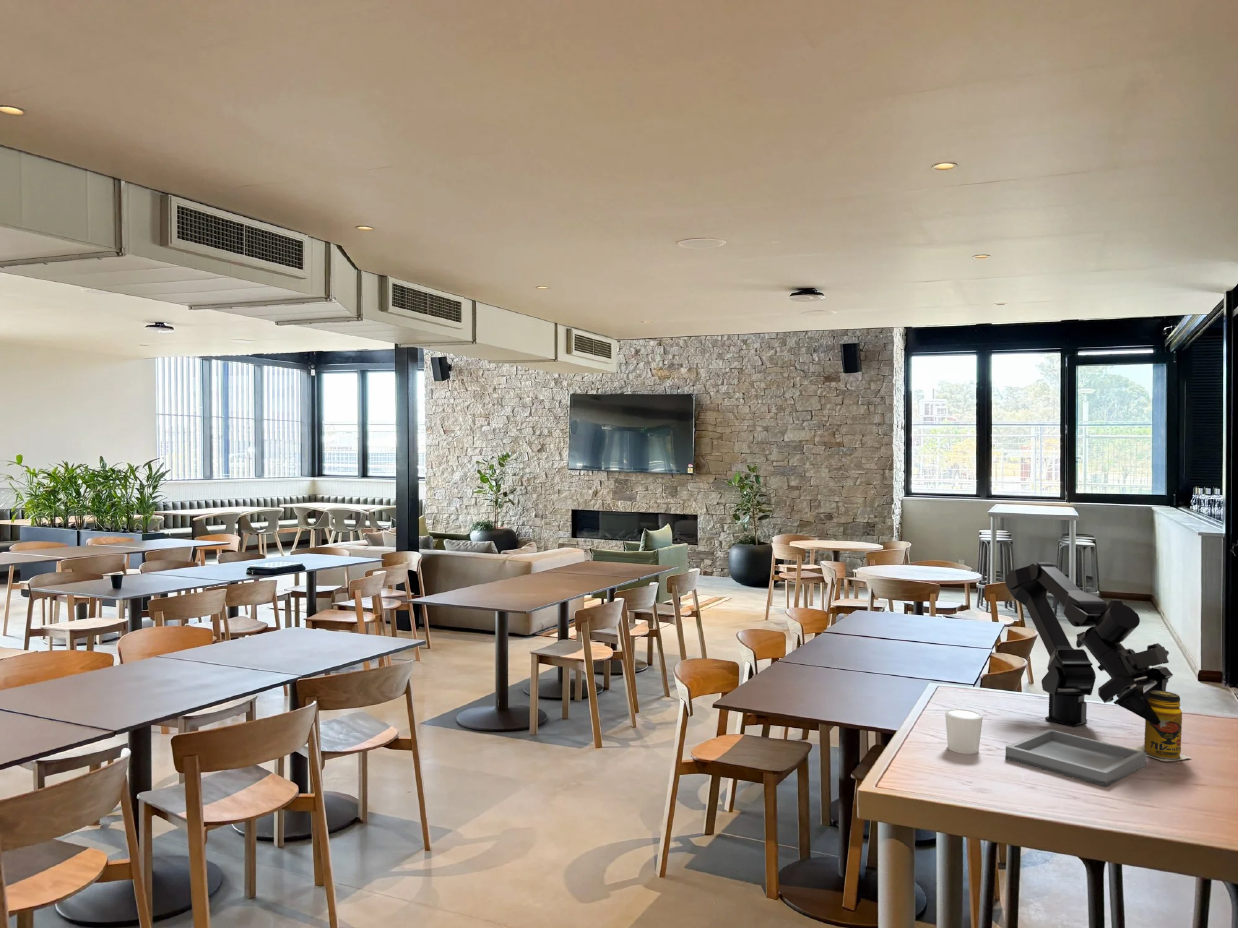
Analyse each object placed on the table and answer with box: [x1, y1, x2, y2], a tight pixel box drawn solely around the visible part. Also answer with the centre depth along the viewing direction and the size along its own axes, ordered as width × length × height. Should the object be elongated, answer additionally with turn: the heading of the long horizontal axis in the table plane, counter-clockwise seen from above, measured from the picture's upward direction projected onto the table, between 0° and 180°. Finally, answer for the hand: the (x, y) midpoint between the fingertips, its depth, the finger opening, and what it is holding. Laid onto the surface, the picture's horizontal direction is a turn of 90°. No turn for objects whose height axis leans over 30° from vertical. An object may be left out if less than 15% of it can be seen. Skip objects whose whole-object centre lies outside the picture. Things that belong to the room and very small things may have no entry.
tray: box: [1004, 728, 1147, 787], centre depth 170 cm, size 18×18×2 cm
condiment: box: [1129, 690, 1192, 762], centre depth 176 cm, size 7×8×12 cm
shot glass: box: [944, 708, 984, 755], centre depth 177 cm, size 7×7×7 cm
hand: (1166, 721), depth 174 cm, fingers closed on condiment, 6 cm apart
